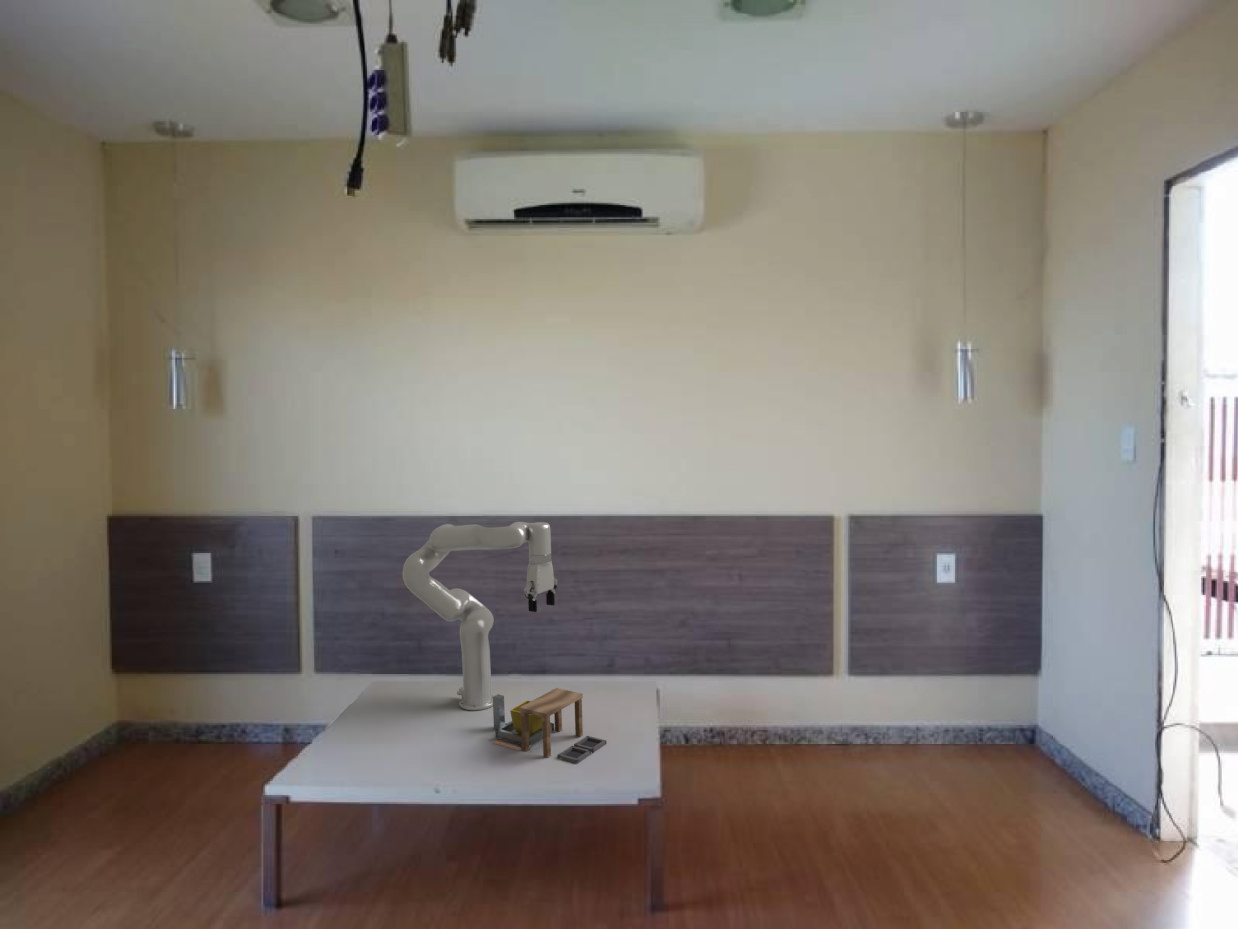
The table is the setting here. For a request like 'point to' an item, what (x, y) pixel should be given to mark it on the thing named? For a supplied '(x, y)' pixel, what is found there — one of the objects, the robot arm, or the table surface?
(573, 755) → the frames
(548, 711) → the small wooden table
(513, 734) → the grey tray with upright
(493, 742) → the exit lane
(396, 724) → the table surface
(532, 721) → the flower pot
